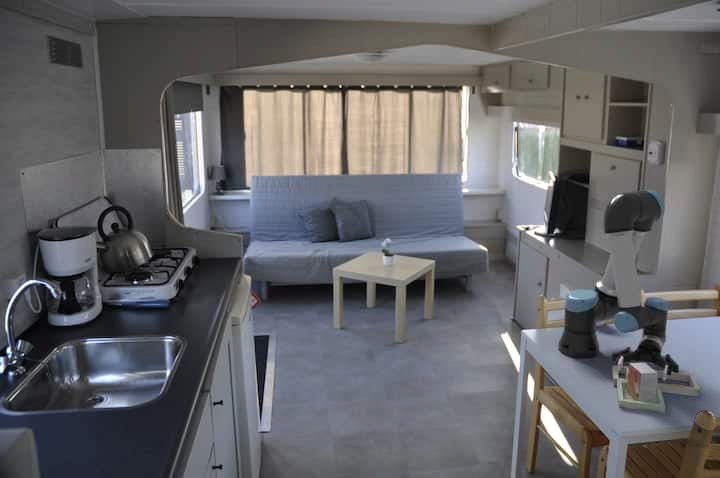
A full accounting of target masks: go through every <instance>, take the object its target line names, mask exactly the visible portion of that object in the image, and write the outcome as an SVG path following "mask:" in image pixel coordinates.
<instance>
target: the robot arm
mask: <svg viewBox="0 0 720 478" xmlns="http://www.w3.org/2000/svg"><path fill="white" fill-rule="evenodd" d="M665 208H666V206H665V202H664V200H663V198H662V196H661V195H660V193H657V192H656V191H654V190H651V189H647V190H646V189H640V190H637V191H630V192H621V193H618V194H615V195H614V196H613V197H612V198H611V199H610V200H609V201H608V202H607V204H606V207H605V209H604V214H603V228H604V229H603V230H604V235H605V236H606V237H607V238H608V244H609V249H610V255H609V258H608V262H607V265H606V267H605V270H604V273H603V276H602V278H601V279H600V280H598V281H597V282H596V284H595V285H594V286H595V287H594V290H592V289H584V288H582V289H574V290H572V291H570V292H568V293H567V294H566V297H565V302H564V323H563V330H562V333H561V335H560V339H559V341H558V344H557V345H558V347H557V348H558V351H559V352H560V353H561V354H564V355H566V356H569V357H573V358H580V359H590V358H595V357H597V356H598V355H599V354H600V344H599V340H598V336H597V333H596V332H597V326H596V323H597V322H600V321H604V320H605V321H607V320H611V319H613V324H614V327H615V328H616V330H618V331H619V332H621V333H624V334H627V333H633V332H637V331H641V330H642V335H641V339H640V340H639V343H638V345H637V348H635V350H634V349H631V347H629V346H626V348H623V349H622V350H618V351H615V352H613V353H612V356H611V361H612V362H615V365H618V366H617V371H619V372H620V369H621V367H622V366H624V363H627V362H629V363H630V362H633V361H635V362H644V363H647V364H648V363H651V364H653V365H655V366H658V367H660V368H661V369H662V370H663V371H664V373H663V378H662V381H666V380H667V379H666V377H667V375H671V373H672V372H674V373H678V372H679V369H680V368H679V367H680V365H679V364H678V363H677V362H676V361H675V360H674V359H673V358H672V357H671V354H668V353H667V354H665V355H662V351H663V349H664V346H665V343H666V341H667V334H666V332H667V329H666V328H667V322H668V312H669V309H668V307H669V303H668V301H667V299H665V298H663V297H658V296H648V297H647V298H646V299H645V300H644V305H643V304H642V300H641V292H640V291H641V290H640V285H639V279H638V271H637V264H636V258H637V255H638V252H639V250H640V246H641V244H642V242H643V240H644V236H645V234H648V233H651V231H652V229H653V225H654V224H655V222H657V221H659V220H660V219H661V218H662V217H663V216H664V214H665V210H666V209H665Z"/></svg>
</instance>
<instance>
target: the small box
mask: <svg viewBox="0 0 720 478" xmlns="http://www.w3.org/2000/svg"><path fill="white" fill-rule="evenodd" d="M628 367H629V371H628V381H627V393H628V394H629V395H631V396H632V397H633V398H634V399H635V400H636V401H641V402H648V403H655V397H656V388H657V380H658V379H659V378H658V373H657V372H656V371H655V370H656V369H653V368H652V367H651V366H650V365H648V363H647V362H629V363H628Z"/></svg>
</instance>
